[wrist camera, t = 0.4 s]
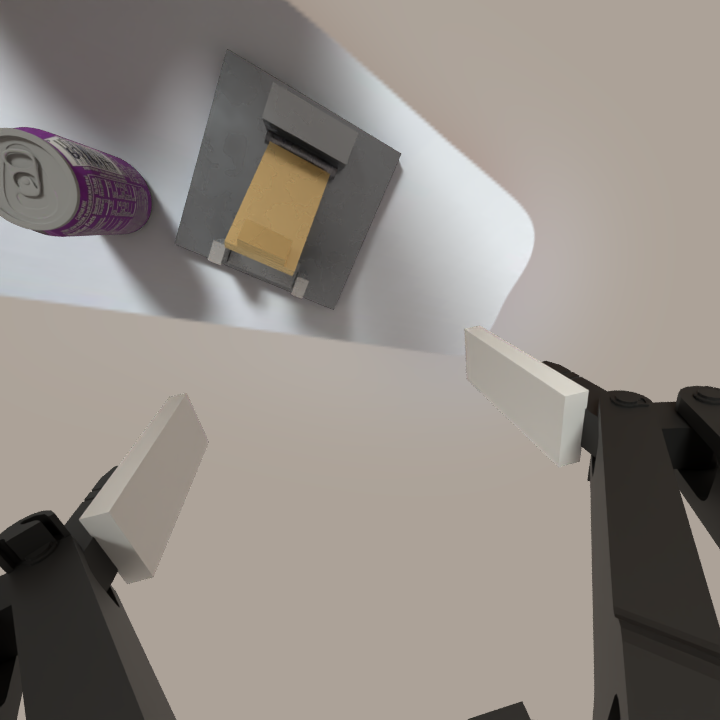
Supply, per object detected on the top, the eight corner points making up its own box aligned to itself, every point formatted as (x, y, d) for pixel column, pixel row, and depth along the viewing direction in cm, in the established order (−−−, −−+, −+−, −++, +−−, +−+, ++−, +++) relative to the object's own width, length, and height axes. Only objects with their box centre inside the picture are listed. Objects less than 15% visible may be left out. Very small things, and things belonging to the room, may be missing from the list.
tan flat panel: (218, 245, 28) (217, 230, 26) (268, 136, 32) (271, 116, 30) (297, 278, 30) (303, 267, 28) (335, 173, 34) (342, 156, 32)
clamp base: (179, 243, 36) (159, 246, 31) (230, 56, 31) (216, 23, 26) (332, 306, 41) (336, 318, 36) (397, 156, 36) (412, 145, 31)
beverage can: (66, 151, 32) (-60, 112, 21) (148, 159, 33) (70, 125, 22) (84, 231, 34) (-19, 234, 23) (159, 235, 35) (95, 240, 24)
